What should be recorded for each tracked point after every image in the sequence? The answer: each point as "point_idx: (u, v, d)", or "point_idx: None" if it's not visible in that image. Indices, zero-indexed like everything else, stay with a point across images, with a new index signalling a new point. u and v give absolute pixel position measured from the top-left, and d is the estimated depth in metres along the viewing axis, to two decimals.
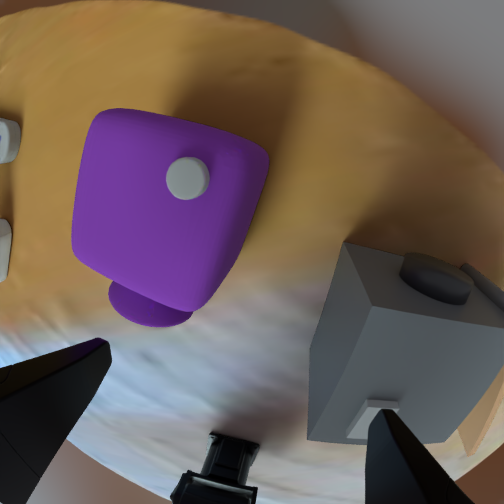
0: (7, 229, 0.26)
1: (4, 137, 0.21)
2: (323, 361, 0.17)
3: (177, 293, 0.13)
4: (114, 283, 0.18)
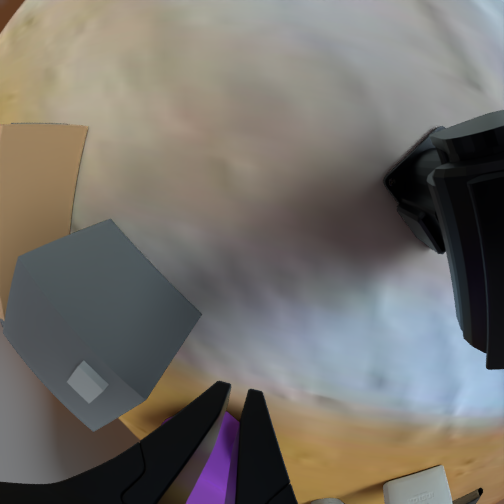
0: (385, 485, 0.27)
1: None
2: None
3: None
4: None
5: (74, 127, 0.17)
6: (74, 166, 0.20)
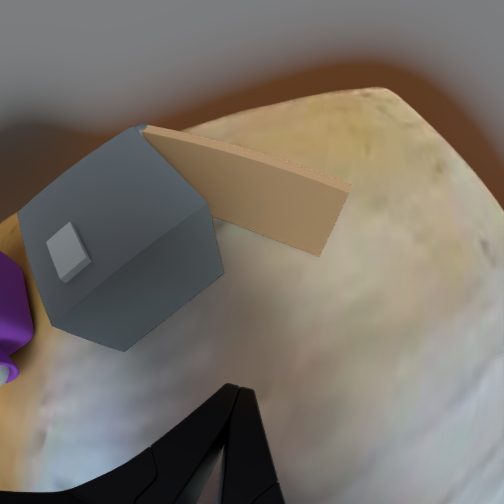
0: None
1: None
2: None
3: None
4: None
5: (322, 247, 0.23)
6: (282, 238, 0.24)
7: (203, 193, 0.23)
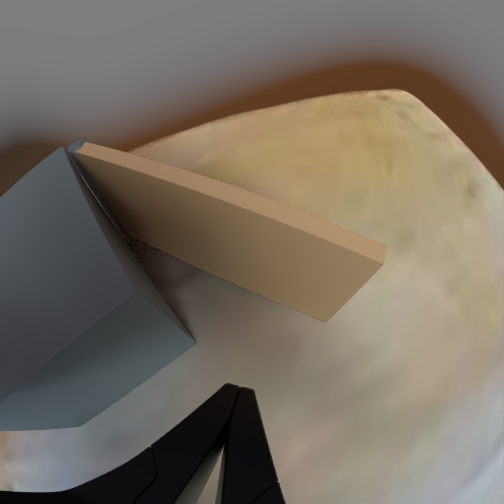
0: None
1: None
2: None
3: None
4: None
5: (330, 315, 0.16)
6: (276, 298, 0.17)
7: (166, 235, 0.17)
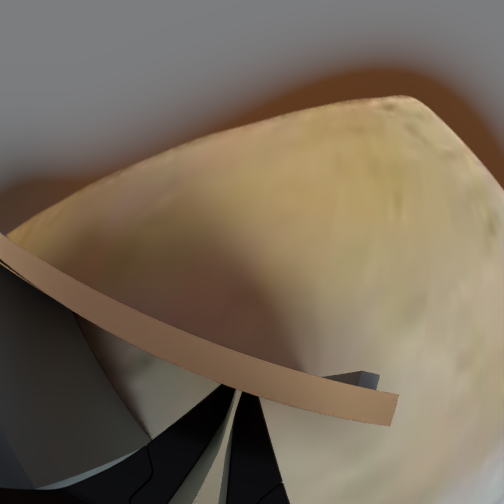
0: None
1: None
2: None
3: None
4: None
5: None
6: None
7: None
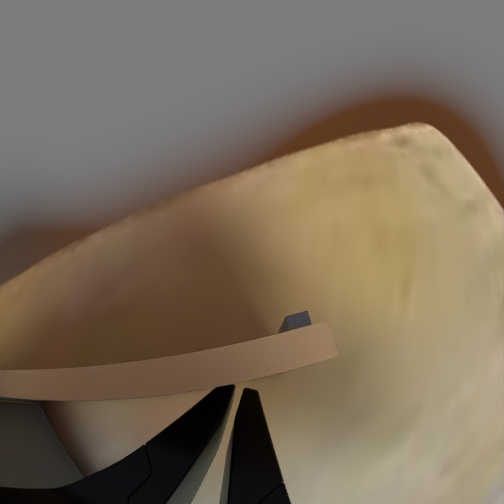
0: None
1: None
2: None
3: None
4: None
5: None
6: None
7: None
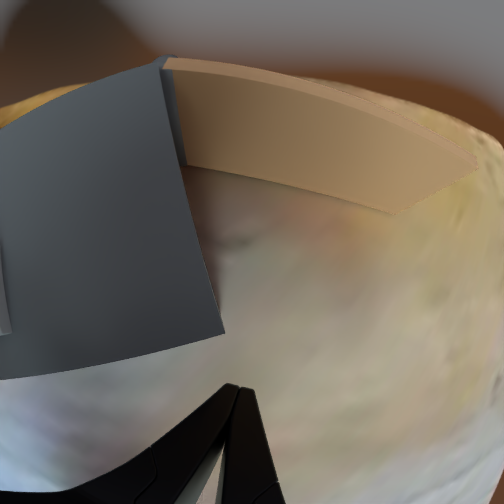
0: None
1: None
2: None
3: None
4: None
5: (406, 207, 0.18)
6: (359, 200, 0.19)
7: (264, 155, 0.15)
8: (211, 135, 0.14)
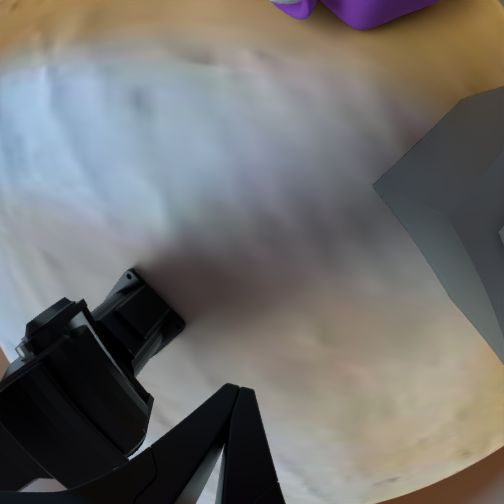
0: None
1: None
2: (450, 150, 0.10)
3: None
4: None
5: None
6: None
7: None
8: None
